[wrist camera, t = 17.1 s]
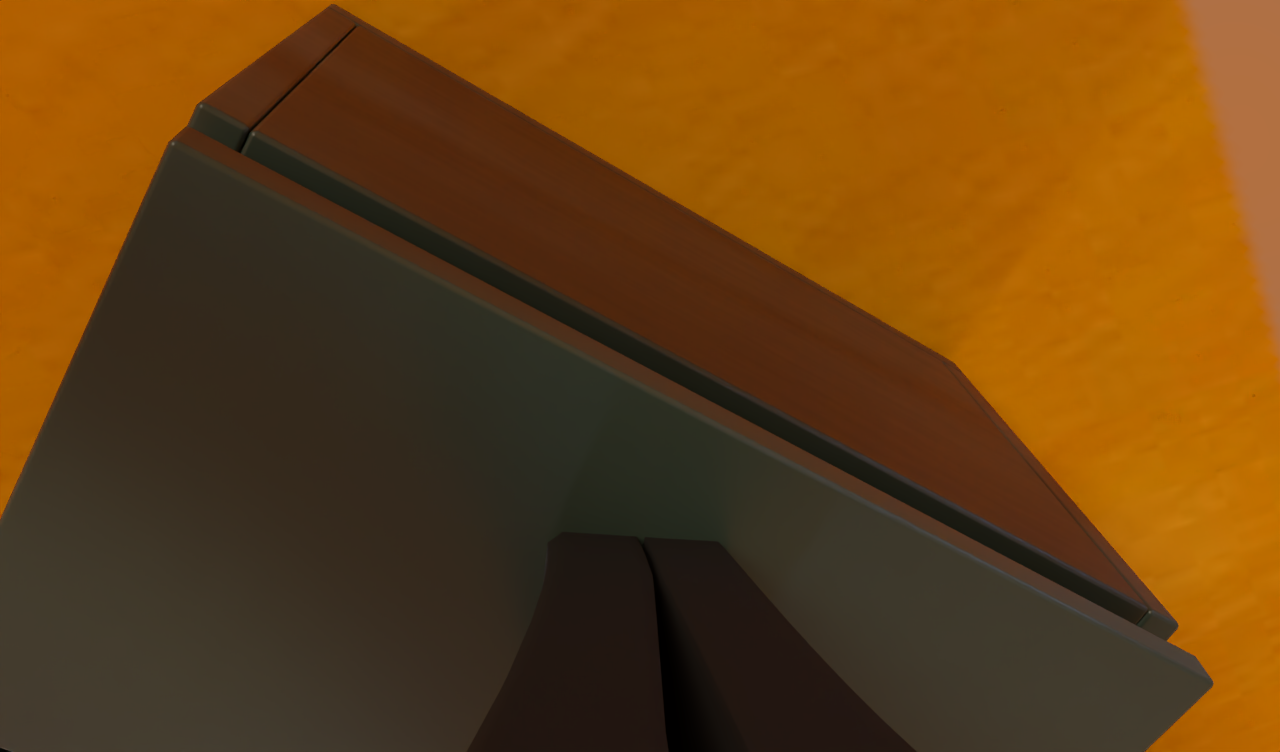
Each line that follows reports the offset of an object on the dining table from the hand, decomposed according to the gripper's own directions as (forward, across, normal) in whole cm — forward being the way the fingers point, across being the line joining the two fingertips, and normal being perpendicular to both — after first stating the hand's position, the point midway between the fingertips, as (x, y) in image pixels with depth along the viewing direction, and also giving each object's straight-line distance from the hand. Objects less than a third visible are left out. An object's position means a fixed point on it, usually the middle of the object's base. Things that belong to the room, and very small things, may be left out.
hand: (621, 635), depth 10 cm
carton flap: (0, 0, +1) cm, 1 cm away
